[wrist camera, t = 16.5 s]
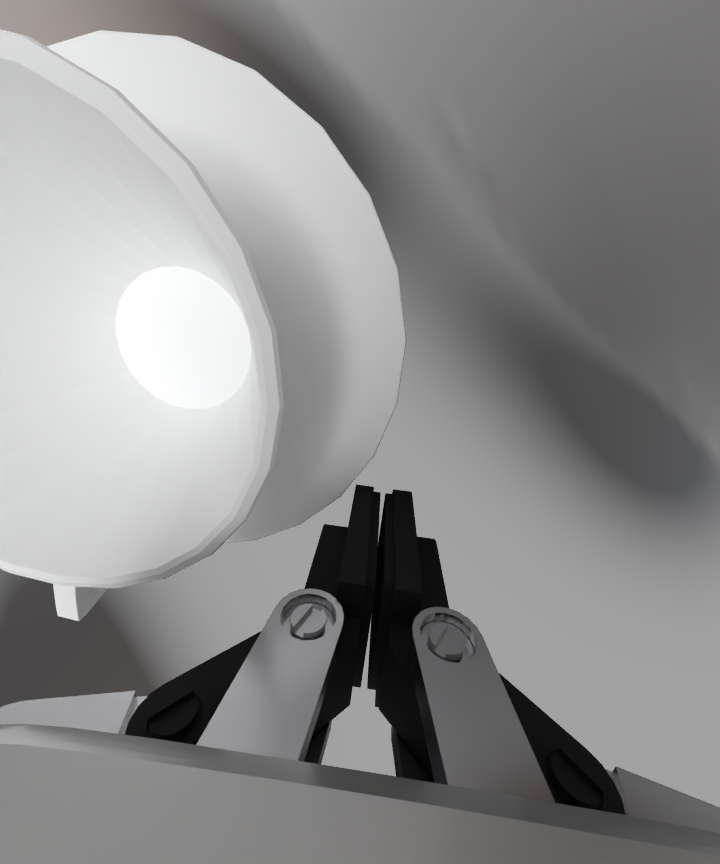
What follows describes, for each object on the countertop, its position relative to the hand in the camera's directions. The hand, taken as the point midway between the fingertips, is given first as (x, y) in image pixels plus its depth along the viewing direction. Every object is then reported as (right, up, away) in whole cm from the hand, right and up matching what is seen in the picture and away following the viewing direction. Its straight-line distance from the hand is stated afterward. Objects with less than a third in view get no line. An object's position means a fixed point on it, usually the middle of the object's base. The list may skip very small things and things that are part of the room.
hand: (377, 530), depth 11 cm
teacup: (-5, +6, 0) cm, 8 cm away
